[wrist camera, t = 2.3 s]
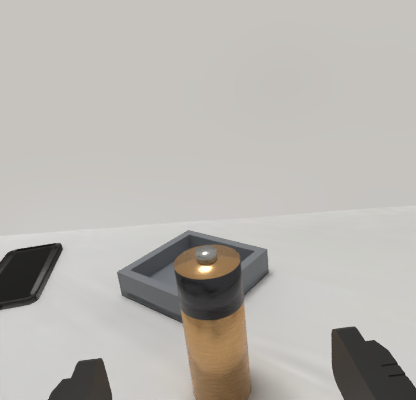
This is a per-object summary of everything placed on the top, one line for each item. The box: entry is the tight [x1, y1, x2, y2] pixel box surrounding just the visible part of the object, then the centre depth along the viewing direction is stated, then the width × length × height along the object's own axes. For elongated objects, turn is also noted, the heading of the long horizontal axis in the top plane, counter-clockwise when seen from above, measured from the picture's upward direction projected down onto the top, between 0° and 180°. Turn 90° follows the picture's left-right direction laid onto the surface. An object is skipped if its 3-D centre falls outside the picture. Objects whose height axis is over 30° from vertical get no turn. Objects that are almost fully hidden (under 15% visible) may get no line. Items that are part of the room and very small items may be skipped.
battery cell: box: [174, 245, 251, 400], centre depth 26 cm, size 4×4×12 cm
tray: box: [117, 230, 268, 323], centre depth 41 cm, size 12×12×3 cm
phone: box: [0, 243, 62, 310], centre depth 48 cm, size 8×1×15 cm
